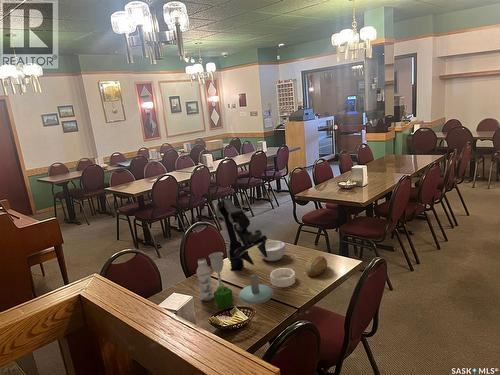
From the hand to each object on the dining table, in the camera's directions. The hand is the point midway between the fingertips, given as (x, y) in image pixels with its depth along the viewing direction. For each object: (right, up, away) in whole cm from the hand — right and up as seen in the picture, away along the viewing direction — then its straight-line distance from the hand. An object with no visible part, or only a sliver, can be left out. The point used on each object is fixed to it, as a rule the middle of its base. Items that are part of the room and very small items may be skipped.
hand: (260, 260), depth 172 cm
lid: (-2, -15, -4) cm, 16 cm away
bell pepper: (-16, -19, -10) cm, 27 cm away
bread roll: (+30, -8, +12) cm, 33 cm away
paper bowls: (+9, -6, +35) cm, 36 cm away
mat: (-2, -15, -4) cm, 16 cm away
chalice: (-20, -15, +6) cm, 26 cm away
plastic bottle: (-25, -18, -2) cm, 31 cm away
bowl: (+12, -12, +5) cm, 17 cm away
